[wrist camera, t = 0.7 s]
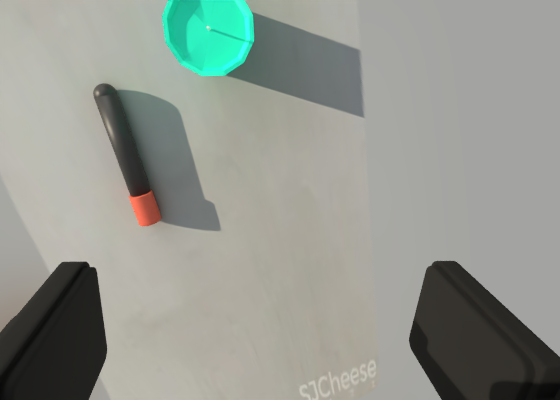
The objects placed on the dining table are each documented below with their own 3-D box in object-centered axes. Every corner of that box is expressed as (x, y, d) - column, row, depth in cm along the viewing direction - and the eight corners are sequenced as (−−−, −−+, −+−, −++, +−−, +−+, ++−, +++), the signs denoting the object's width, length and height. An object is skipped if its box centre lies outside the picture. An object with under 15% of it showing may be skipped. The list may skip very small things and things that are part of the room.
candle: (257, 60, 34) (268, 62, 23) (197, 79, 34) (179, 90, 23) (236, -9, 32) (238, -44, 21) (172, 11, 32) (139, -13, 21)
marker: (92, 85, 33) (83, 87, 31) (117, 80, 33) (109, 82, 31) (142, 218, 39) (136, 228, 37) (163, 214, 39) (159, 223, 37)
